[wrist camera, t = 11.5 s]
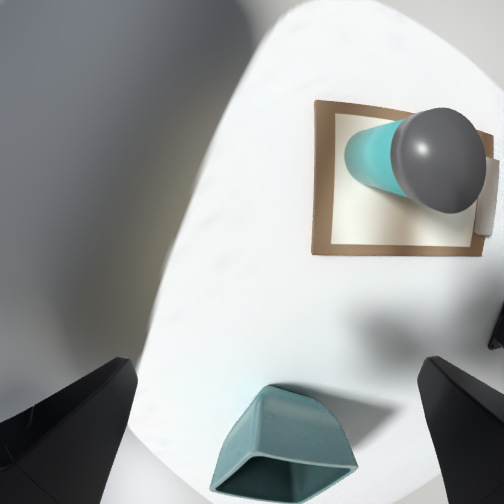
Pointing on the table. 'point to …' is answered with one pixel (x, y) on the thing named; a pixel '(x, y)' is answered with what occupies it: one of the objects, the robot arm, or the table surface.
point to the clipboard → (386, 198)
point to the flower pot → (283, 450)
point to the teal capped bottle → (422, 159)
